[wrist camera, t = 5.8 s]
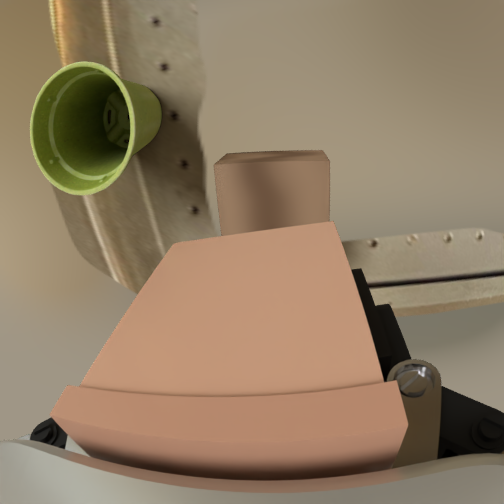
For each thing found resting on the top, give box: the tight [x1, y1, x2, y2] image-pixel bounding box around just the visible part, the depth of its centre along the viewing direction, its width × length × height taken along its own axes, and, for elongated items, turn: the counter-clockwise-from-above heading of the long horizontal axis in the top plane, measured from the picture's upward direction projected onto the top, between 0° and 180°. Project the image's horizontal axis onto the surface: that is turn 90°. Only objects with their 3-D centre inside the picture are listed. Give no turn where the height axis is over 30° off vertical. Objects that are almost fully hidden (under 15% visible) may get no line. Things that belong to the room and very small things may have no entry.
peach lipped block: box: [50, 221, 408, 481], centre depth 8 cm, size 6×6×7 cm
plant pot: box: [30, 62, 162, 195], centre depth 21 cm, size 9×9×9 cm
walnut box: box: [214, 150, 330, 236], centre depth 25 cm, size 8×8×5 cm
